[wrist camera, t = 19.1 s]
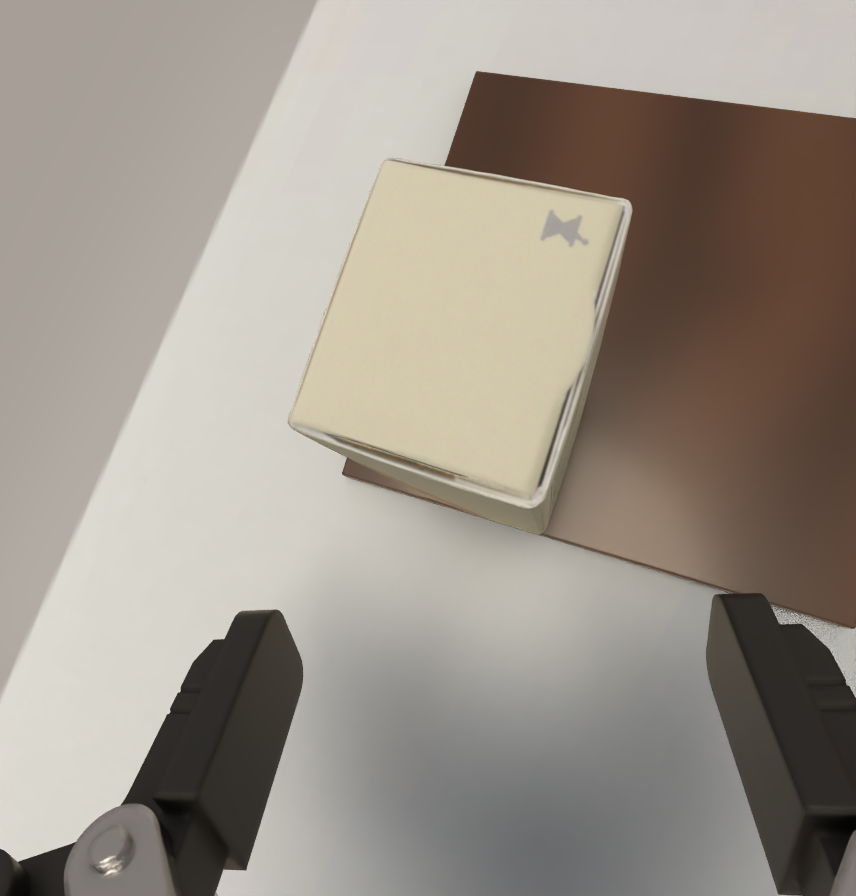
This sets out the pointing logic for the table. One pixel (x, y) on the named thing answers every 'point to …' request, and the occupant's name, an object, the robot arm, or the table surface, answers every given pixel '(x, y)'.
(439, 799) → the table surface
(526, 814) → the table surface
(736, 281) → the board
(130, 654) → the table surface
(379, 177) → the box
